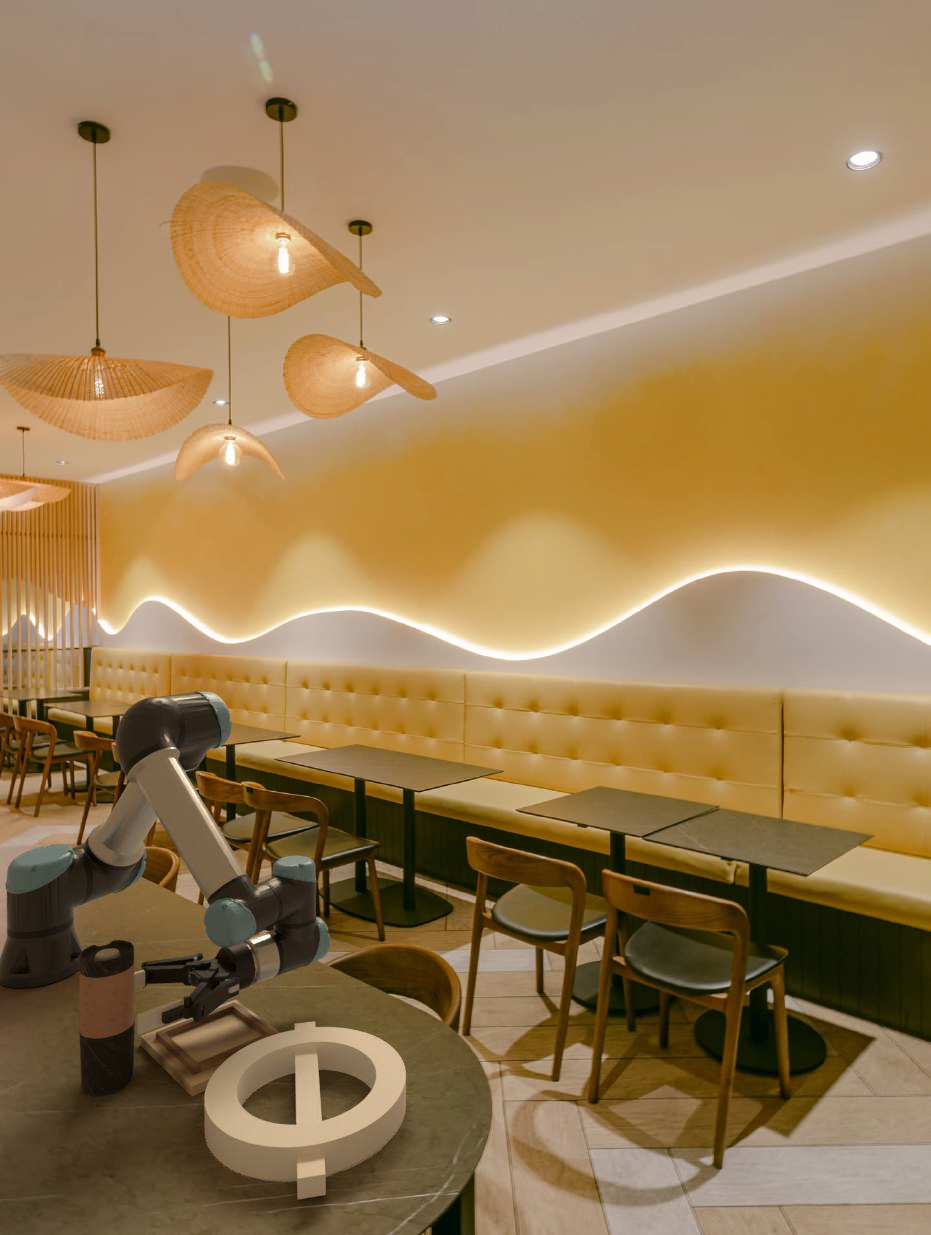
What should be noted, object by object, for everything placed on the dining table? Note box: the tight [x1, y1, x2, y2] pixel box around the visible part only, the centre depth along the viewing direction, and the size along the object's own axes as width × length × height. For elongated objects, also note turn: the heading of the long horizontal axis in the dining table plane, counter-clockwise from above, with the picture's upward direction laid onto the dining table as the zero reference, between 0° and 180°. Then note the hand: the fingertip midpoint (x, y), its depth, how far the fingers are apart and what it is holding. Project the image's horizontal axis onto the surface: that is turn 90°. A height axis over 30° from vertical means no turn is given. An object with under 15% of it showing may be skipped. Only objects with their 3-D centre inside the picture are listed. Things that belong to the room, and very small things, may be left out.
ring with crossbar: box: [203, 1020, 407, 1200], centre depth 111 cm, size 28×28×5 cm
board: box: [139, 999, 282, 1097], centre depth 127 cm, size 19×17×2 cm
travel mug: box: [78, 939, 136, 1097], centre depth 117 cm, size 8×8×20 cm
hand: (119, 1008), depth 118 cm, fingers open, 13 cm apart
